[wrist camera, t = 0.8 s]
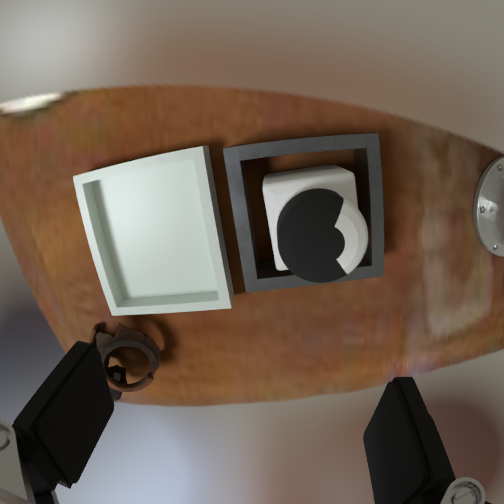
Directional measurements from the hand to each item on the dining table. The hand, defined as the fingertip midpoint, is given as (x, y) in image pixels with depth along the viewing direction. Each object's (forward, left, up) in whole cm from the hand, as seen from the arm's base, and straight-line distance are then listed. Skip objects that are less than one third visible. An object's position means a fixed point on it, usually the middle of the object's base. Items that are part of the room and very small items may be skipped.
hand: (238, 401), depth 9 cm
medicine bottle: (-4, -1, -24) cm, 24 cm away
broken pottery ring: (+20, +15, -24) cm, 35 cm away
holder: (-4, -1, -24) cm, 24 cm away
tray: (+11, 0, -24) cm, 26 cm away
